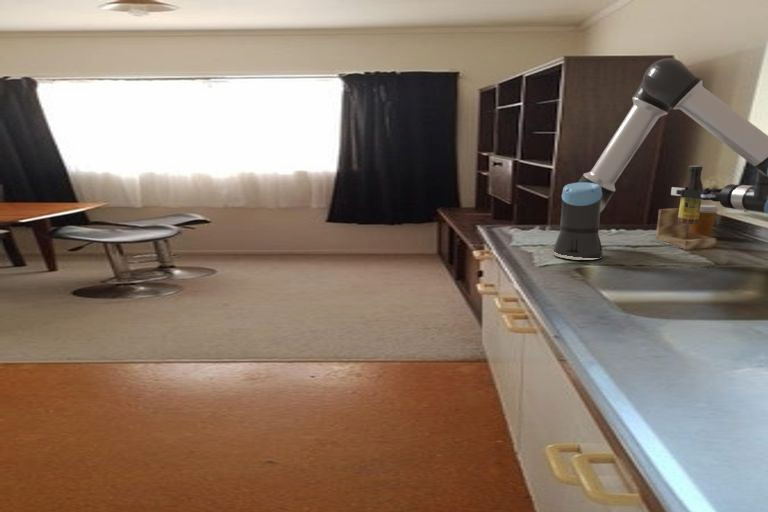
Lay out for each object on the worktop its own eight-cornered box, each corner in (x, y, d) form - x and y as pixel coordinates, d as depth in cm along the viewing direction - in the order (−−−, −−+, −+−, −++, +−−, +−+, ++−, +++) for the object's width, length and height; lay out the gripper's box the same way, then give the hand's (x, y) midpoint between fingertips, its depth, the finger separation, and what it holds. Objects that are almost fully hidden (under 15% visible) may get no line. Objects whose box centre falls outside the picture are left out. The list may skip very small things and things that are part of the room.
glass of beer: (686, 233, 194) (690, 203, 191) (715, 236, 189) (719, 204, 186) (683, 237, 187) (687, 206, 184) (713, 240, 181) (718, 207, 179)
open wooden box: (684, 249, 167) (689, 214, 165) (655, 241, 180) (658, 209, 177) (715, 246, 170) (720, 212, 167) (684, 239, 183) (688, 207, 180)
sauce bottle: (681, 224, 171) (687, 166, 166) (674, 221, 177) (680, 165, 172) (702, 224, 169) (709, 166, 165) (694, 221, 175) (700, 165, 171)
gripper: (712, 210, 152) (656, 202, 174) (761, 207, 156) (701, 199, 178) (715, 186, 151) (658, 181, 173) (765, 183, 155) (703, 179, 177)
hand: (680, 190), depth 175 cm, fingers closed on sauce bottle, 6 cm apart
